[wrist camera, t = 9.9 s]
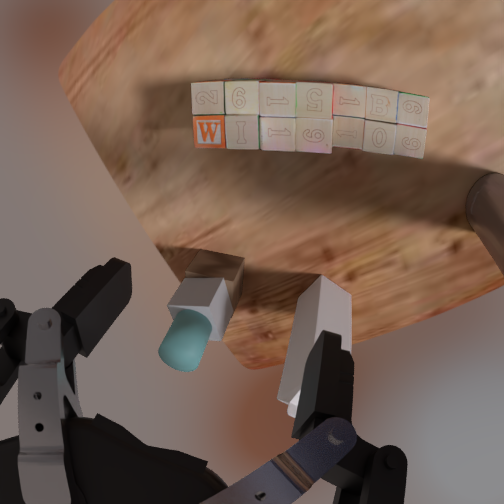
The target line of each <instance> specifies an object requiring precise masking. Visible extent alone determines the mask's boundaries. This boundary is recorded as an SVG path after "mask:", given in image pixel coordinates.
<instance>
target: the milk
mask: <svg viewBox="0 0 504 504" xmlns="http://www.w3.org/2000/svg"><path fill="white" fill-rule="evenodd" d="M322 330H326V331H329V332H333V333H336V334H340V335H341V336H342V344H341V349H343V350H347V351H350V353H351V294H349V293H348V292H346V291H345V290H344V289H342V288H341V287H339V286H338V285H336V284H335V283H333V282H332V281H330V280H329V279H328V278H326V277H325V276H323V275H320V277H319V278H318V279H317V280H316V281H315V282H314V283H313V284H312V285H311V286H310V287H309V288H308V289H307V290H305V291H304V292H303V293H302V294H301V295H300V296H299V297H298V301H297V306H296V311H295V316H294V321H293V326H292V331H291V336H290V341H289V346H288V351H287V355H286V360H285V365H284V369H283V374H282V378H281V383H280V387H279V391H278V396H277V399H278V400H279V401H281V402H284V403H286V404H288V410H287V413H288V415H289V416H292V417H294V418H295V417H296V412H297V407H298V401H299V396H300V391H301V385H302V380H303V374H304V368H305V364H306V361H307V358H308V355H309V353H310V351H311V349H312V348H313V346H314V344H315V342H316V341H317V339H318V337H319V335H320V333H321V332H322Z"/></svg>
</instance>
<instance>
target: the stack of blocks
mask: <svg viewBox="0 0 504 504" xmlns="http://www.w3.org/2000/svg"><path fill="white" fill-rule="evenodd" d="M191 97H192V114H193V115H194V116H193V133H194V145H195V148H227V149H261V150H263V151H289V152H293V151H299V152H313V153H327V154H331V153H332V147H341V148H350V149H358V150H362V151H367V152H373V153H380V154H388V155H394V154H396V155H402V156H408V157H414V158H419V159H423V155H424V148H425V140H426V133H427V129H426V127H427V120H428V109H429V97H425V96H421V95H416V94H411V93H405V92H399V91H394V90H388V89H382V88H375V87H369V86H361V85H355V84H346V83H335V82H333V83H331V82H320V81H300V80H281V79H255V78H232V79H224V80H211V81H203V82H194V83H191Z"/></svg>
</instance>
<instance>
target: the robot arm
mask: <svg viewBox="0 0 504 504" xmlns="http://www.w3.org/2000/svg"><path fill="white" fill-rule="evenodd" d="M466 215H467V219H468V221H469V224H470V225H471V227H472V228H473V229H474V231H475V232H476V234H477V235H478V237H479V238H480V240H481V241H482V243H483V244H484V246H485V247H486V249H487V250H488V252H489V253H490V255H491V256H492V258H493V259H494V261H495V262H496V264H497V266H498V267H499V269H500V270H501V272H502V274H503V275H504V175H502V174H499V173H492V174H488V175H486V176H484V177H482V178H481V179H479V180H478V181H477V182H476V183H475V184H474V186H473V187H472V189H471V191H470V192H469V195H468V198H467V202H466ZM131 295H132V278H131V265H130V263H127V262H125V261H122V260H120V259H117V258H115V257H114V258H112V259H110V260H109V261H108V262H107V263H106V264H105V265H104V266H101V265H98V266H96V267H94V268H92V269H90V270H89V271H88V272H87V273H86V274H84V276H82V277H81V279H79V281H77V283H76V284H75V286H73V287H72V288H71V289H70V290H69V291H68V292H67V293H66V294H65V295H64V296H63V297H62V298H61V299H60V300H59V301H58V302H57V303H56V304H55V305H54V307H52V308H42V309H39V310H37V311H35V312H34V313H33V314H32V313H27V312H22V311H18V310H16V308H15V305H14V304H13V302H12V301H11V300H9V299H5V298H3V299H0V344H1V345H2V347H1V348H0V404H1V403H2V401H3V400H4V398H5V397H6V395H7V394H8V392H9V391H10V389H11V388H12V386H13V385H14V383H15V382H16V380H17V379H18V423H19V435H18V436H15V437H11V438H8V439H5V440H2V441H0V504H292V503H293V502H294V501H295V500H297V499H298V498H299V497H301V496H302V495H303V494H304V493H305V492H307V491H308V490H309V489H310V488H311V486H312V485H313V484H314V483H315V482H316V481H317V480H319V479H320V478H322V479H323V480H325V481H327V482H329V483H331V484H333V485H335V486H337V487H336V492H335V496H334V501H333V504H404V496H405V488H406V477H407V458H406V456H405V454H404V452H403V451H402V450H401V449H400V448H398V447H396V446H393V445H386V446H383V447H381V448H378V447H376V446H374V445H372V444H370V443H368V442H366V441H364V440H363V439H361V438H360V437H359V436H358V435H357V434H356V431H355V428H354V427H353V425H352V421H351V417H352V402H353V383H354V377H353V375H354V361H353V358H352V356H351V353H350V351H347V350H343V349H341V344H342V336H341V335H340V334H336V333H333V332H329V331H326V330H322V332H321V333H320V335H319V337H318V339H317V341H316V342H315V344H314V346H313V348H312V349H311V351H310V353H309V355H308V358H307V361H306V364H305V368H304V374H303V380H302V385H301V391H300V396H299V401H298V407H297V412H296V417H295V422H294V427H293V432H292V438H296V439H299V441H298V442H297V443H296V444H294V445H293V446H292V447H290V448H289V449H288V450H286V451H285V452H283V453H282V454H280V455H277V456H276V457H274V458H273V459H271V460H270V461H268V462H267V463H265V464H264V465H262V466H261V467H260V468H258V469H256V470H255V471H253V472H252V473H250V474H249V475H247V476H246V477H244V478H242V479H241V480H239V481H238V482H236V483H234V484H233V485H231V486H229V487H228V486H227V485H226V483H225V482H224V481H223V480H222V479H221V478H220V477H219V476H218V475H217V474H216V473H214V472H213V471H212V470H210V469H209V468H207V467H206V465H207V463H208V461H205V460H202V459H199V458H196V457H194V456H191V455H188V454H186V453H183V452H180V451H176V450H169V449H163V448H158V447H152V446H148V445H146V444H144V443H143V442H141V441H140V440H139V439H138V438H136V437H135V436H134V435H132V434H131V433H130V432H129V431H128V430H126V429H125V428H124V427H123V426H121V425H119V424H117V423H115V422H113V421H111V420H109V419H107V418H105V417H104V416H102V415H100V414H98V413H97V415H96V416H95V418H94V419H92V418H86V417H83V415H82V410H81V407H80V404H79V399H78V390H77V380H76V367H75V359H74V358H75V357H76V355H77V354H78V353H79V354H81V355H83V356H84V357H88V356H89V354H90V353H91V352H92V350H93V349H94V347H95V346H96V345H97V343H98V342H99V341H100V339H101V338H102V337H103V335H104V334H105V333H106V331H107V330H108V329H109V327H110V326H111V325H112V324H113V322H114V321H115V320H116V318H117V317H118V316H119V314H120V313H121V312H122V311H123V309H124V308H125V307H126V305H127V304H128V303H129V300H130V298H131Z"/></svg>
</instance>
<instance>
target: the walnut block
mask: <svg viewBox="0 0 504 504" xmlns="http://www.w3.org/2000/svg"><path fill="white" fill-rule="evenodd" d="M244 259H245V258H243V257H238V256H233V255H228V254H223V253H218V252H213V251H208V250H203V249H200V250H199V252H198V253H197V255H196V256H195V258H194V259H193V260H192V262H191V263H190V265H189V266H188V268H187V269H186V271H185V275H186V278H224V281H225V284H226V287H227V291H228V294H229V298H230V301H231V305H232V308H233V313H234V311H235V309H236V306H237V304H238V301H239V299H240V297H241V294H242V284H243V271H244ZM232 316H233V314H232ZM232 316H231V318H232Z"/></svg>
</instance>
